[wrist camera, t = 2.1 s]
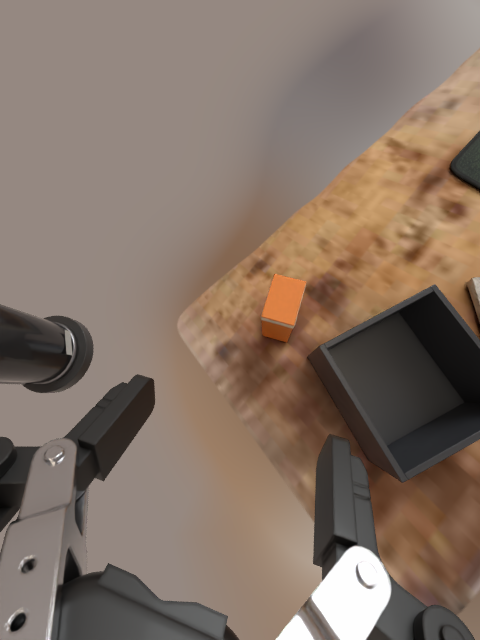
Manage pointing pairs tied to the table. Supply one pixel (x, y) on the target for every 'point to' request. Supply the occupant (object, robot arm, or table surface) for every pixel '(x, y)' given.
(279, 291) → the block
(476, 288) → the packaged product
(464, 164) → the mouse mat
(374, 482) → the table surface
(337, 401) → the dark grey open box
